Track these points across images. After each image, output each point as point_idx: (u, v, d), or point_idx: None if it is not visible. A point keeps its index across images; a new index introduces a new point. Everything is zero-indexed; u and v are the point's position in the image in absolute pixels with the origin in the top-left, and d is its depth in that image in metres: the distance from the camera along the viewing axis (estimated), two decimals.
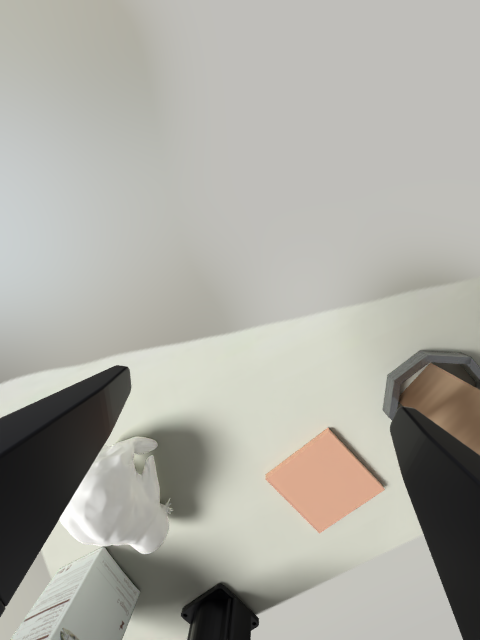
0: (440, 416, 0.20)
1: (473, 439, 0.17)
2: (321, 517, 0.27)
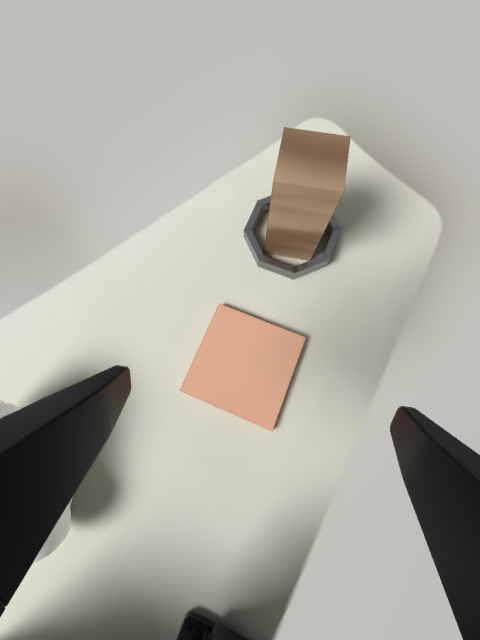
0: None
1: None
2: (262, 407, 0.21)
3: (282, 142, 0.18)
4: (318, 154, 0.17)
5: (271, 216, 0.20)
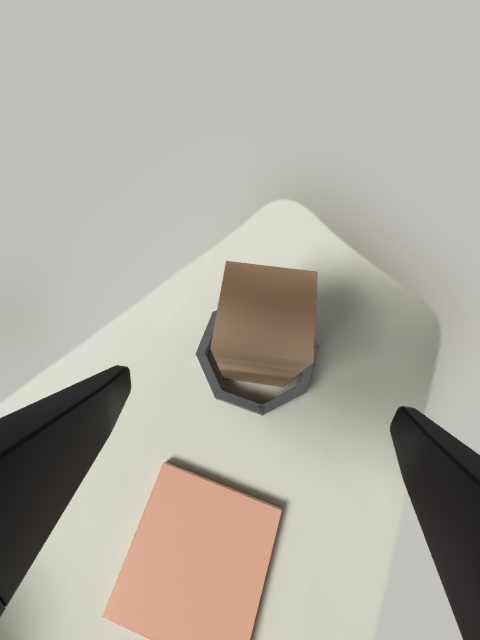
0: None
1: None
2: (224, 638, 0.15)
3: (223, 284, 0.13)
4: (274, 301, 0.12)
5: (220, 364, 0.15)
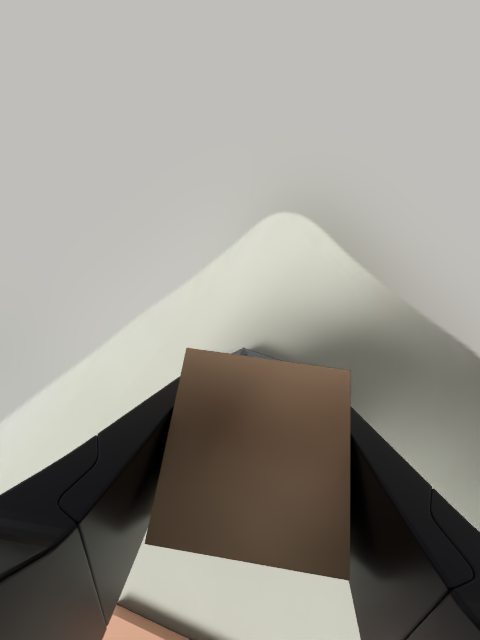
0: None
1: None
2: None
3: (179, 397, 0.07)
4: (271, 434, 0.07)
5: None
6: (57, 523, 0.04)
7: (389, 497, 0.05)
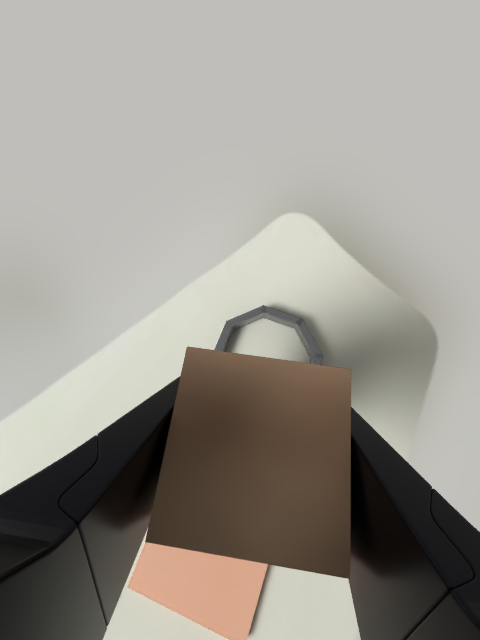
0: None
1: None
2: (232, 610, 0.17)
3: (179, 396, 0.07)
4: (271, 432, 0.07)
5: None
6: (57, 523, 0.04)
7: (389, 497, 0.05)
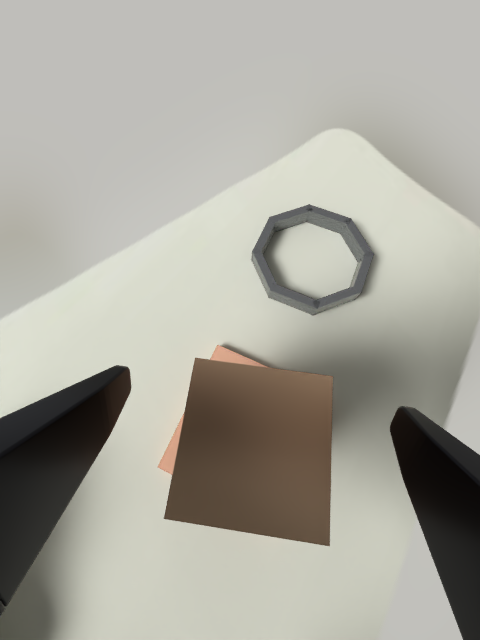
0: None
1: None
2: None
3: (189, 399, 0.08)
4: (266, 429, 0.08)
5: None
6: None
7: None
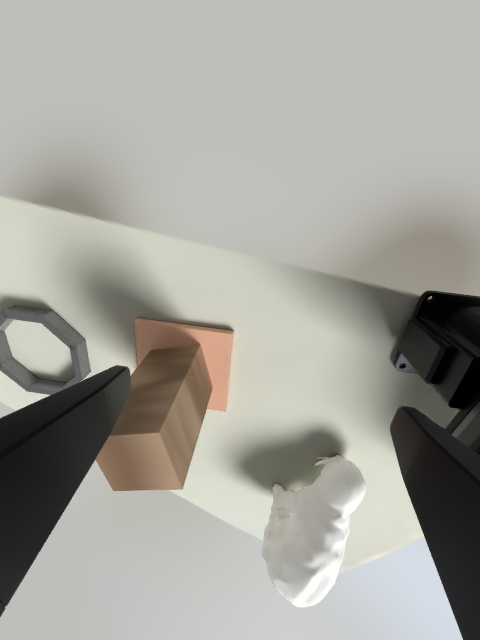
0: None
1: None
2: (215, 346, 0.22)
3: (132, 489, 0.16)
4: (126, 460, 0.15)
5: (196, 436, 0.19)
6: None
7: None
